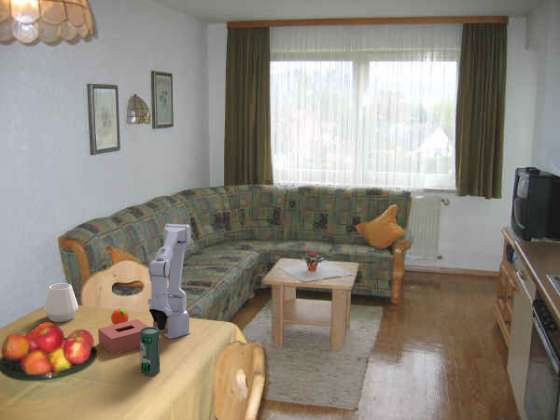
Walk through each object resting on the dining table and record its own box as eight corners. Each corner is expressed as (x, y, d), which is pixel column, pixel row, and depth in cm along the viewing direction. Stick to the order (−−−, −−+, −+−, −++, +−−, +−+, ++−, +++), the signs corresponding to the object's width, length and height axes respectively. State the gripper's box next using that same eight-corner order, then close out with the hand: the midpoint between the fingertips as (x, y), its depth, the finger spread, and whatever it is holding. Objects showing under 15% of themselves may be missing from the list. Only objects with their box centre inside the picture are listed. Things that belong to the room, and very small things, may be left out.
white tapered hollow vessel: (71, 324, 232) (70, 291, 229) (39, 323, 232) (37, 290, 229) (83, 312, 245) (81, 281, 242) (52, 311, 245) (50, 280, 242)
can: (139, 369, 195) (139, 328, 192) (157, 366, 197) (157, 325, 194) (143, 377, 189) (142, 335, 186) (161, 374, 192) (160, 332, 189)
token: (165, 331, 209) (165, 318, 208) (167, 333, 208) (167, 320, 207) (152, 334, 206) (153, 321, 205) (155, 336, 204) (155, 323, 204)
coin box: (137, 333, 224) (137, 319, 223) (152, 343, 215) (151, 328, 214) (98, 343, 214) (98, 328, 213) (112, 354, 205) (111, 339, 204)
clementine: (134, 325, 232) (133, 309, 231) (121, 330, 226) (120, 314, 225) (120, 321, 236) (120, 304, 235) (107, 326, 231) (107, 309, 229)
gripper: (140, 289, 207) (140, 324, 209) (159, 300, 196) (159, 337, 198) (157, 286, 211) (158, 320, 214) (177, 296, 200) (177, 332, 203)
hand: (160, 328), depth 206 cm, fingers closed on token, 2 cm apart
